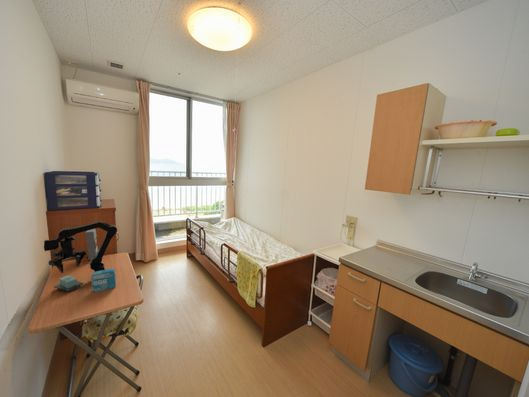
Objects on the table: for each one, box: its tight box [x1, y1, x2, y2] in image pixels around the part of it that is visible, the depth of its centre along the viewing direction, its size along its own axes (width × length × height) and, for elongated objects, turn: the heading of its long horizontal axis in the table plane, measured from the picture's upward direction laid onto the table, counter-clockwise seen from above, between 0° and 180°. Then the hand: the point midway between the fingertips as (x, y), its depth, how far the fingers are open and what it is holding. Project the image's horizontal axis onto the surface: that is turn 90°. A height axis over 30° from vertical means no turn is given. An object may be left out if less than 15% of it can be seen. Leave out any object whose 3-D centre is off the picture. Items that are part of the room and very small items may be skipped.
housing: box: [59, 275, 78, 288], centre depth 142 cm, size 5×10×4 cm, turn 64°
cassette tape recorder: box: [85, 228, 99, 261], centre depth 189 cm, size 14×6×25 cm, turn 32°
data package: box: [90, 268, 117, 293], centre depth 141 cm, size 12×4×12 cm, turn 121°
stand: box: [53, 280, 84, 293], centre depth 142 cm, size 13×9×2 cm
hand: (70, 269), depth 145 cm, fingers open, 9 cm apart
